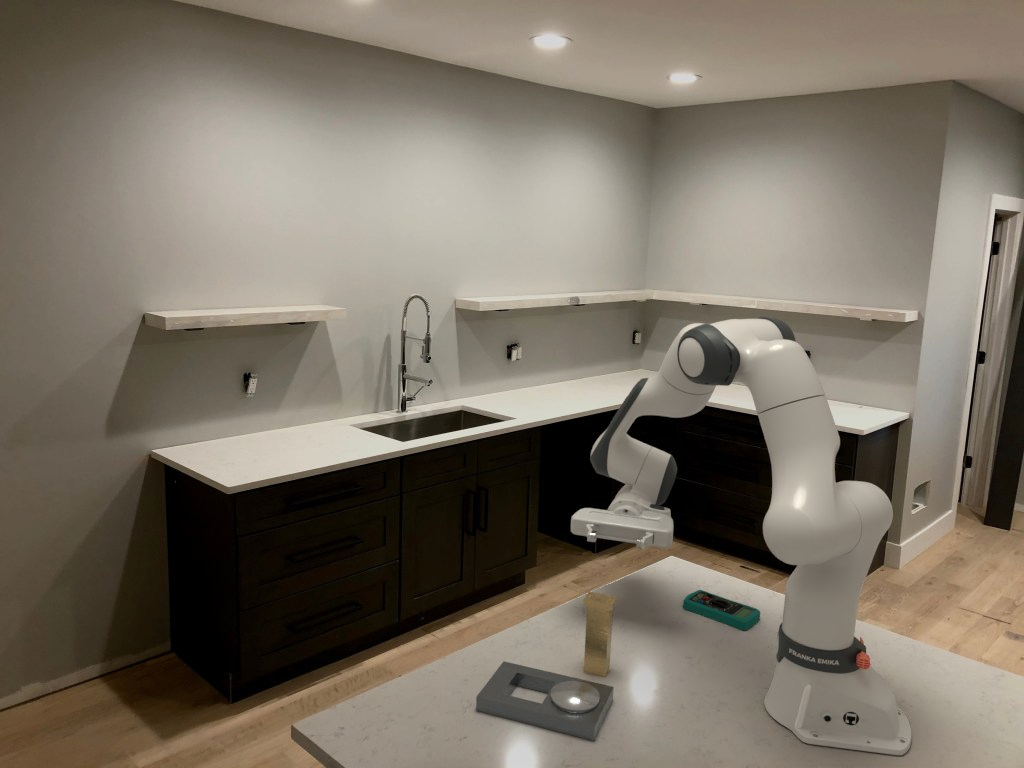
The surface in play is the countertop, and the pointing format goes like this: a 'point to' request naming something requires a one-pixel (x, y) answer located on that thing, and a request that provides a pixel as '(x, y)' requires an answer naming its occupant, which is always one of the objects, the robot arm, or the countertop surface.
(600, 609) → the wedge pin
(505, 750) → the countertop surface
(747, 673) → the countertop surface
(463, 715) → the countertop surface
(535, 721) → the gray socket block
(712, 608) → the digital multimeter
